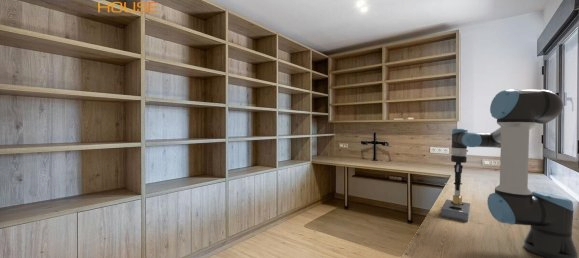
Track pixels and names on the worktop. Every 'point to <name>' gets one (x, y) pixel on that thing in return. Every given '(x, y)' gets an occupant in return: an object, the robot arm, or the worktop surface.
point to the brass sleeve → (457, 200)
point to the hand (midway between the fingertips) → (457, 195)
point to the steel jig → (455, 210)
